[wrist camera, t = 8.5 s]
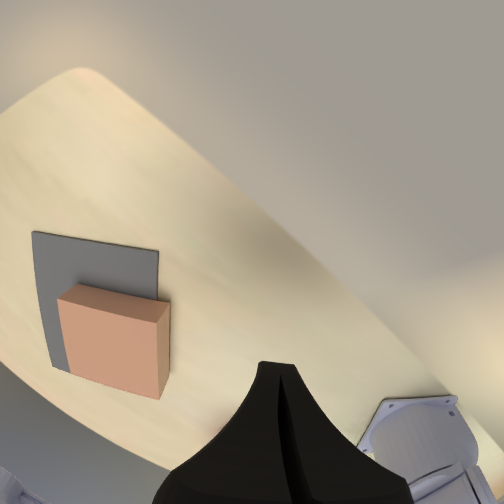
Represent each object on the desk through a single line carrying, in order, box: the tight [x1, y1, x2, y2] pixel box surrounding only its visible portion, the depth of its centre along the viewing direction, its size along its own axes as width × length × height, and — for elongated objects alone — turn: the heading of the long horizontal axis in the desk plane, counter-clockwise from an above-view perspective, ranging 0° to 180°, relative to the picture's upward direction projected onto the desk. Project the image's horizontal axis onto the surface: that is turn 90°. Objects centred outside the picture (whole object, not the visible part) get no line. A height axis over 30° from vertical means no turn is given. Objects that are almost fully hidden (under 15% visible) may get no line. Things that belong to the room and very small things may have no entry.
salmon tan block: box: [57, 283, 170, 400], centre depth 21 cm, size 3×7×8 cm
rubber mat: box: [31, 231, 159, 386], centre depth 23 cm, size 12×14×1 cm
